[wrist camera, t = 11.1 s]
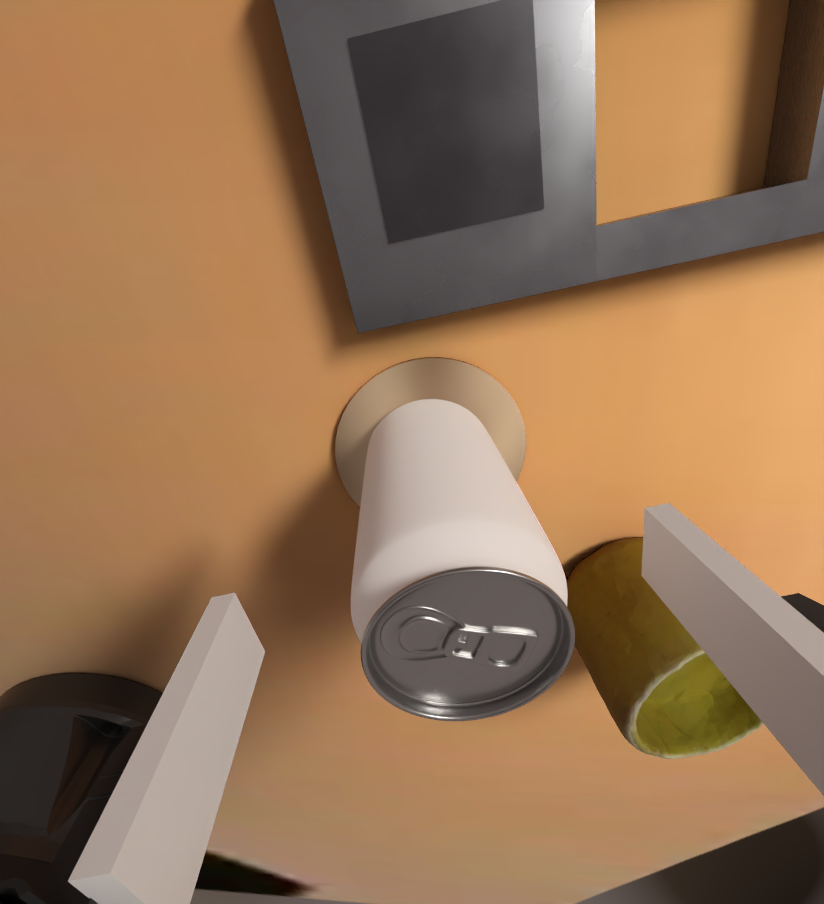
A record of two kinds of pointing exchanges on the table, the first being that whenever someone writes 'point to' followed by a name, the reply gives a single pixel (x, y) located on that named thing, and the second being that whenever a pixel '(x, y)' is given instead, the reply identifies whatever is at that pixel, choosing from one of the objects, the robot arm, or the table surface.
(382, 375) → the coaster
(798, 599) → the robot arm
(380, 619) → the can
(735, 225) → the panel
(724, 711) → the mug
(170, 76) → the table surface
